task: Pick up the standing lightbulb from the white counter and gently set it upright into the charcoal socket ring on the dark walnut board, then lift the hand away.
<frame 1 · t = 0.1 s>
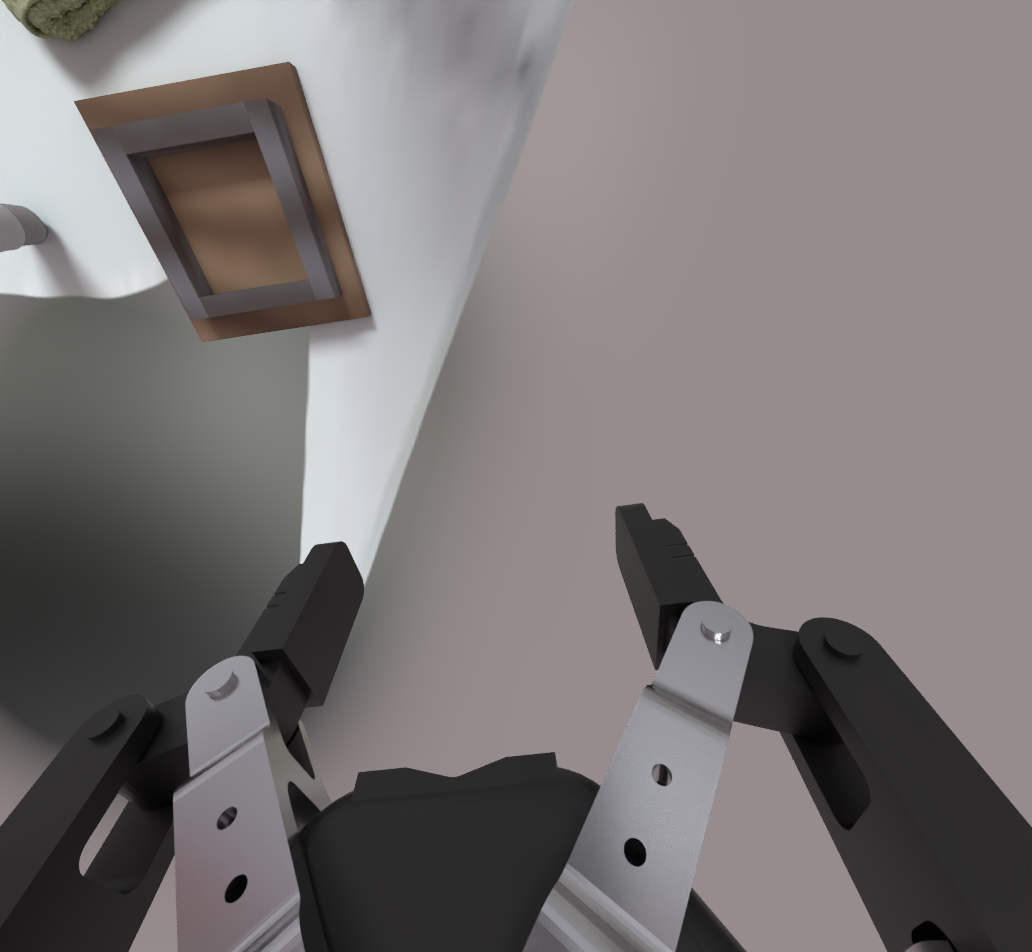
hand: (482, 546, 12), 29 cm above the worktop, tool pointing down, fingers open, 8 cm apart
lightbulb: (39, 225, 32), on the worktop
socket stand: (246, 222, 32), on the worktop
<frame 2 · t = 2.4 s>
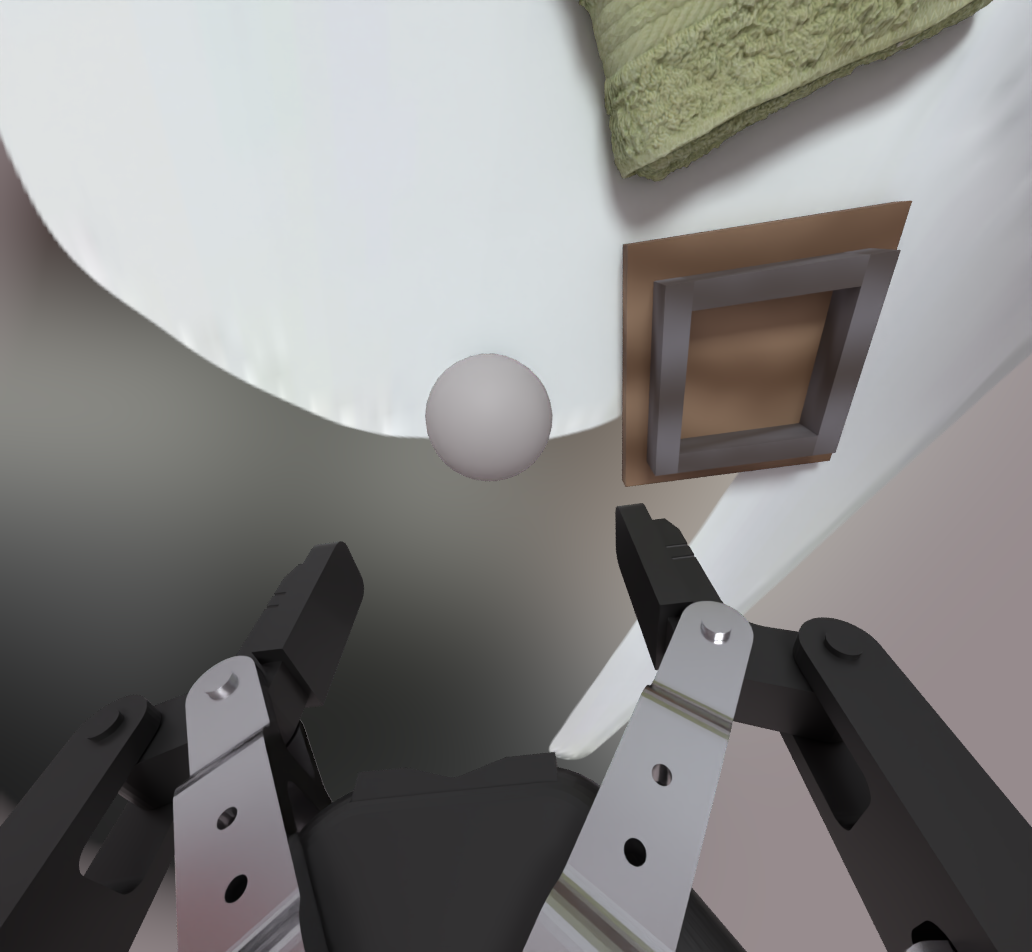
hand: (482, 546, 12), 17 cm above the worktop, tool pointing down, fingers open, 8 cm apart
lightbulb: (492, 368, 27), on the worktop
socket stand: (736, 364, 27), on the worktop
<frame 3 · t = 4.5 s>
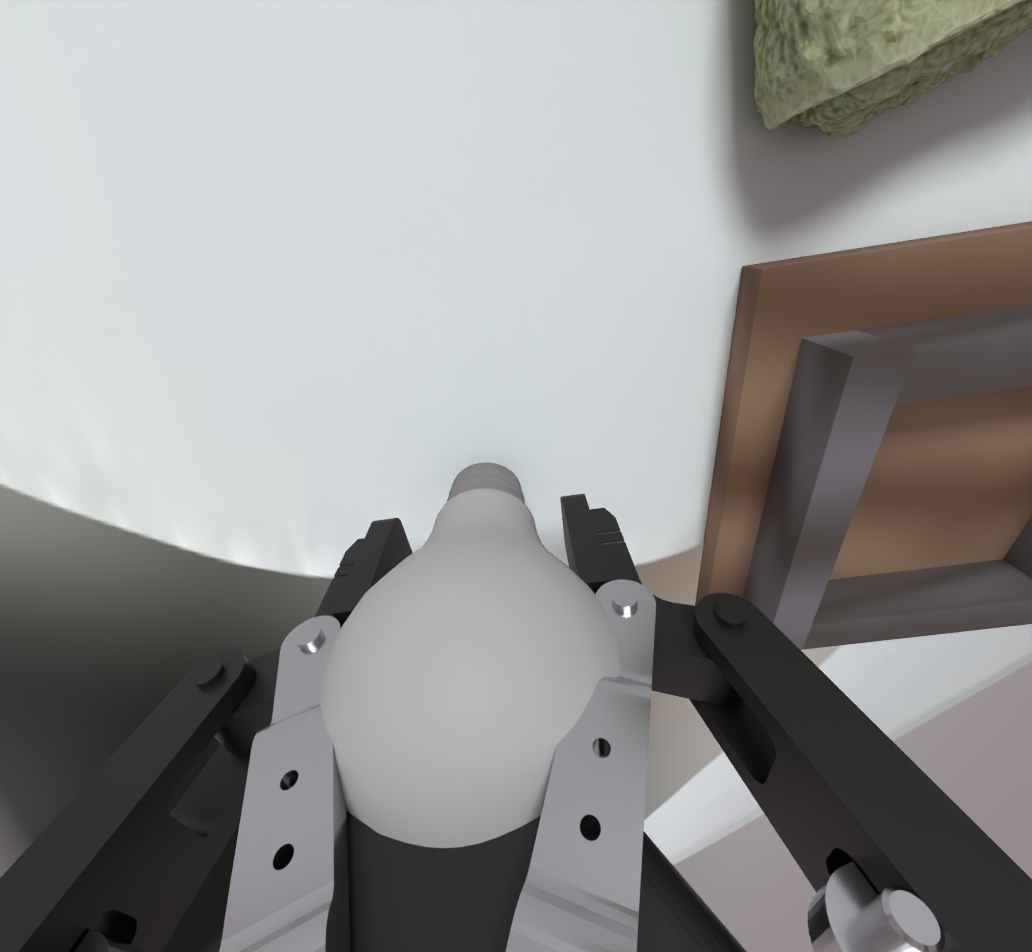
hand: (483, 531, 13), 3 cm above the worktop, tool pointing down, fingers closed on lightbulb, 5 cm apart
lightbulb: (487, 478, 15), on the worktop, touching gripper
socket stand: (909, 468, 15), on the worktop
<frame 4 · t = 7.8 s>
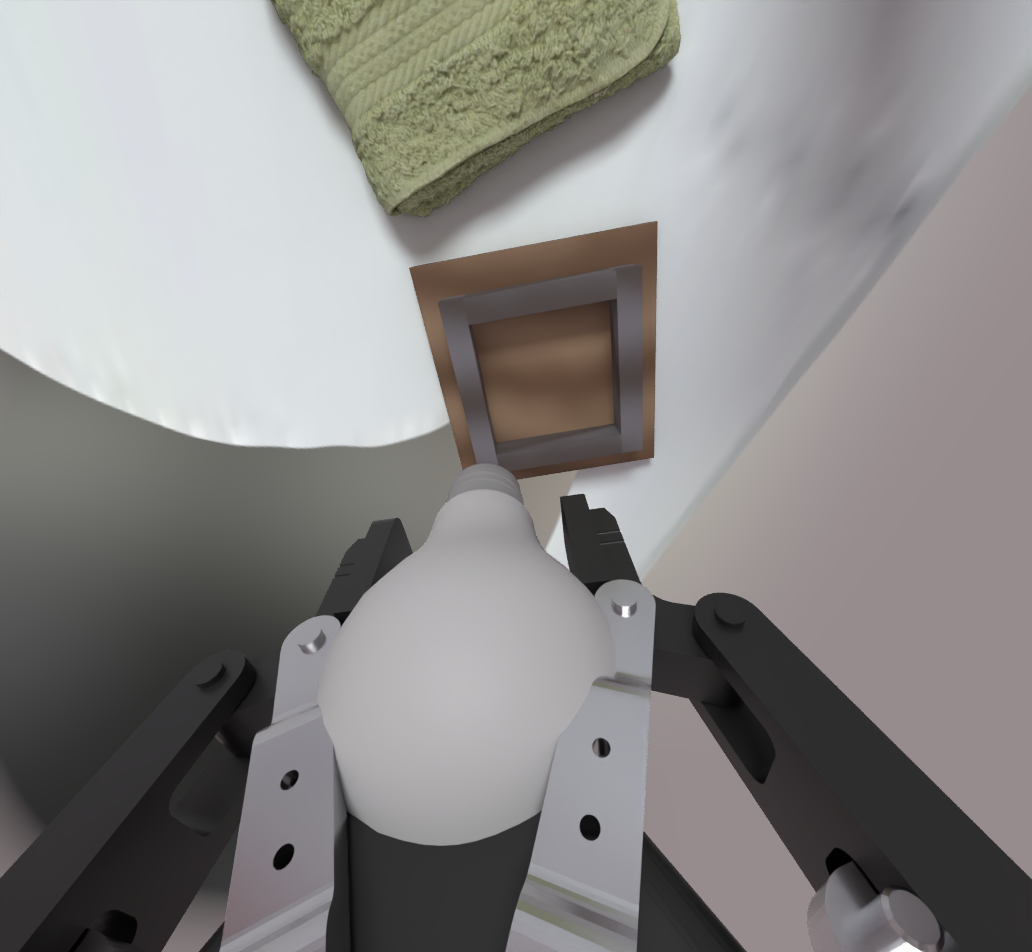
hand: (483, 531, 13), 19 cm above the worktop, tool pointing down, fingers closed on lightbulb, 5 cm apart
washcloth: (476, 6, 20), on the worktop
lightbulb: (486, 478, 15), point 16 cm above the worktop, touching gripper
socket stand: (546, 371, 29), on the worktop
when the fingers open (4 cm above the worktop, at t = 11.4 s): lightbulb stays where it is, resting on socket stand.
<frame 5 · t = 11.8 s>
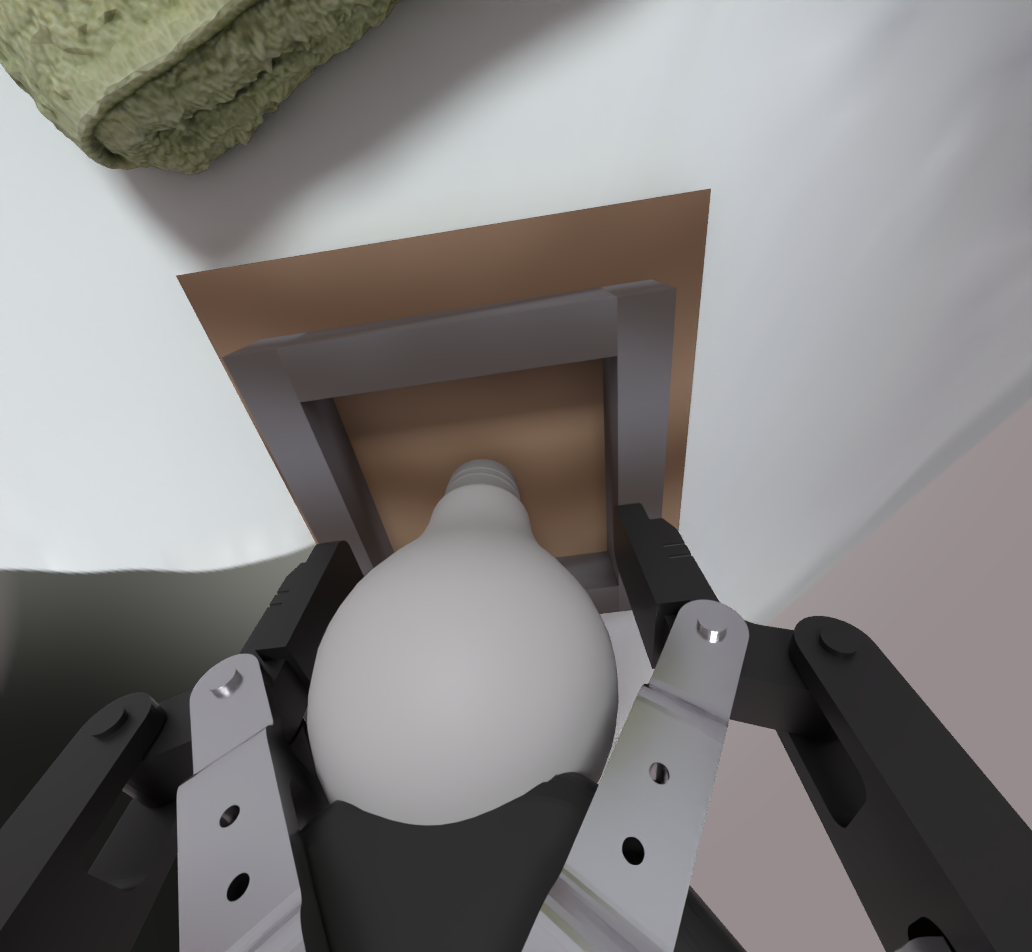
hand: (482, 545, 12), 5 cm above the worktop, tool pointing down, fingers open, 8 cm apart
lightbulb: (484, 474, 15), point 1 cm above the worktop, touching socket stand
socket stand: (487, 464, 16), on the worktop
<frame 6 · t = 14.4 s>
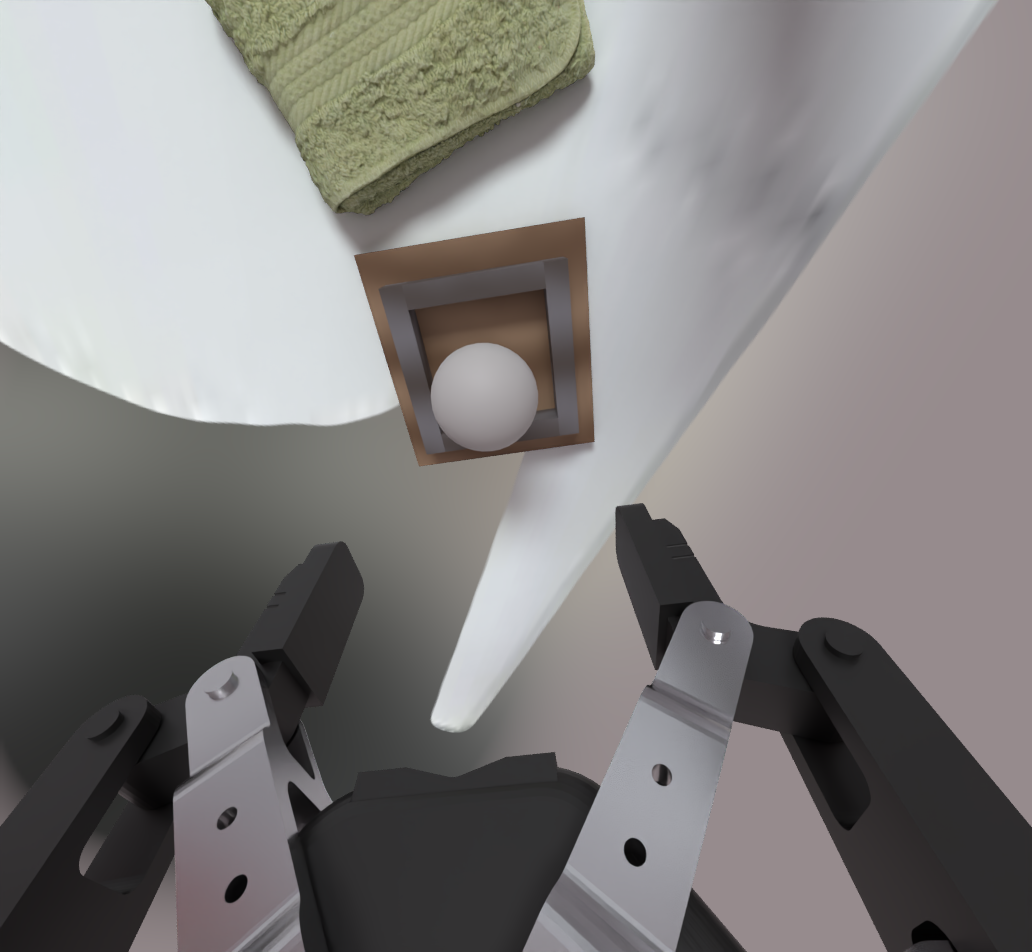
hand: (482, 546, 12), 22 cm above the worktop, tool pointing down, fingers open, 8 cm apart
washcloth: (408, 21, 22), on the worktop
lightbulb: (488, 359, 30), point 1 cm above the worktop, touching socket stand
socket stand: (489, 356, 31), on the worktop
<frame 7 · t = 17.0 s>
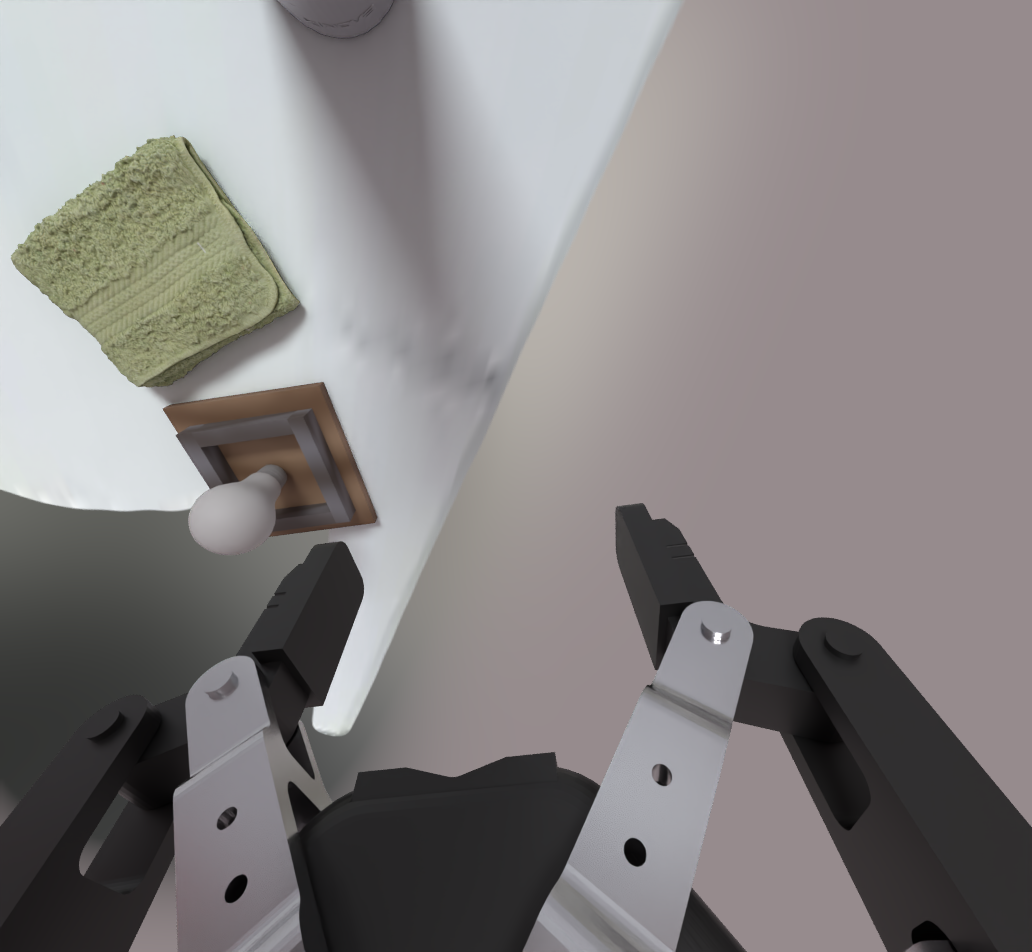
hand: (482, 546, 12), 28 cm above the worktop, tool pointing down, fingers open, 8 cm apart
washcloth: (174, 275, 33), on the worktop
lightbulb: (278, 470, 42), point 1 cm above the worktop, touching socket stand
socket stand: (283, 466, 42), on the worktop
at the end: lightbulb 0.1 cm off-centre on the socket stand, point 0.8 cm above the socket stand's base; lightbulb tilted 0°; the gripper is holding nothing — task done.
